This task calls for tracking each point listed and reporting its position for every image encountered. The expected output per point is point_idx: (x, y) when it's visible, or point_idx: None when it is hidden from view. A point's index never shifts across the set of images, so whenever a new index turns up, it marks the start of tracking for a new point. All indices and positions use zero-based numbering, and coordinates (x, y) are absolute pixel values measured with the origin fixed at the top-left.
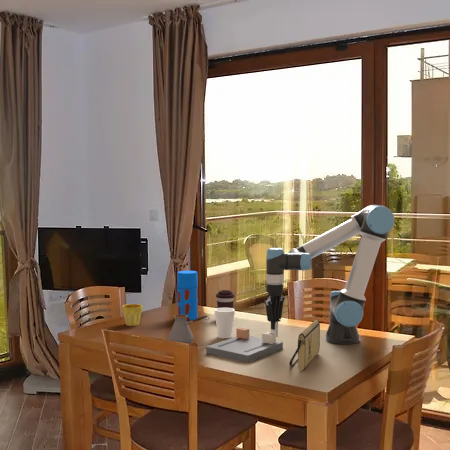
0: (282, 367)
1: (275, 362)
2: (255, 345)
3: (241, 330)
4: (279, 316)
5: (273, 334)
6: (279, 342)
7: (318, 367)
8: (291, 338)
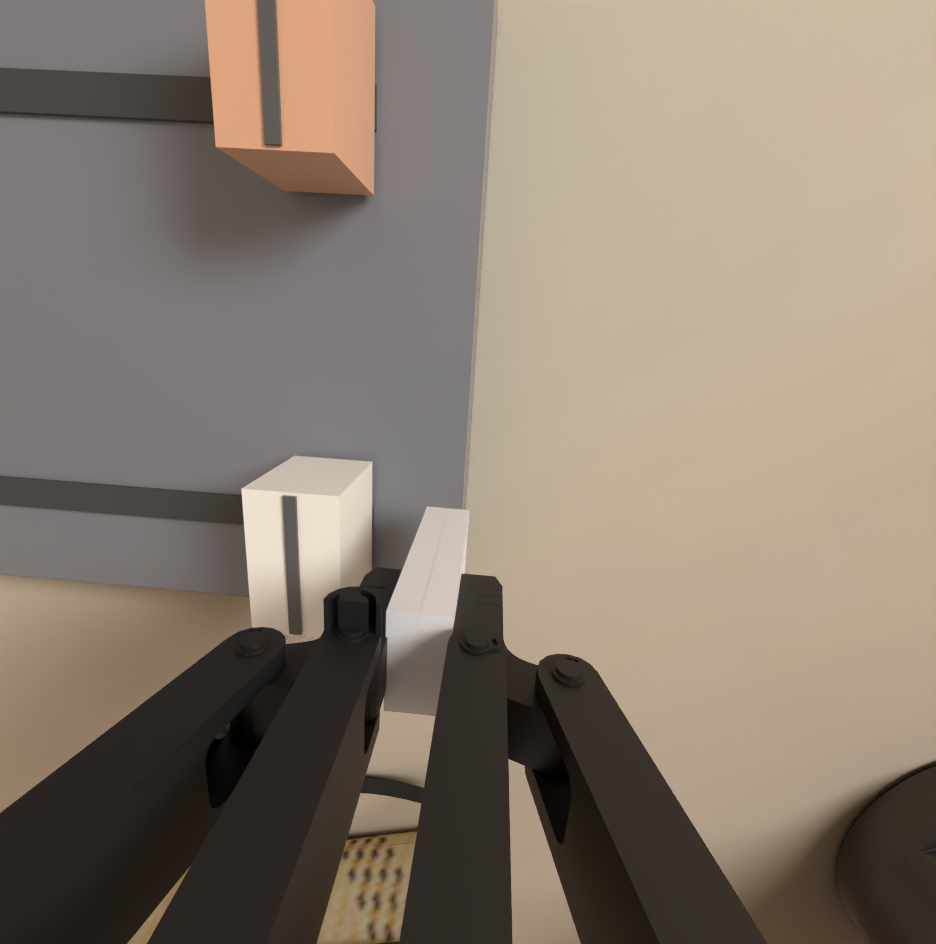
0: (58, 765)
1: (109, 688)
2: (166, 446)
3: (219, 52)
4: (537, 787)
5: (292, 633)
6: None
7: None
8: (882, 478)
